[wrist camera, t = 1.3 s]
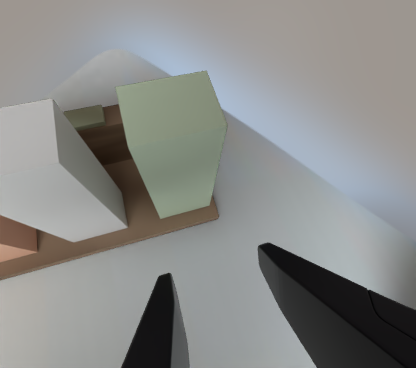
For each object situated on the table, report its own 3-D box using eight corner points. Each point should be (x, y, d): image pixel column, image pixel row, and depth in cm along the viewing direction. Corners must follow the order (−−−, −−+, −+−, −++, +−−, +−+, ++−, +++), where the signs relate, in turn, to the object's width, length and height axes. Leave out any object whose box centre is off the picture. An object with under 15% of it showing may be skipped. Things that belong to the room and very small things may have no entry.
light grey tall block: (128, 227, 19) (58, 162, 9) (73, 242, 19) (-67, 190, 9) (121, 192, 20) (52, 98, 10) (69, 205, 20) (-60, 118, 10)
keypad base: (217, 219, 21) (228, 192, 15) (-20, 285, 18) (-121, 285, 12) (190, 134, 24) (190, 85, 18) (-18, 180, 21) (-99, 139, 15)
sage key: (209, 205, 20) (227, 125, 10) (160, 218, 20) (128, 147, 10) (199, 172, 21) (206, 70, 11) (152, 184, 21) (115, 86, 11)
